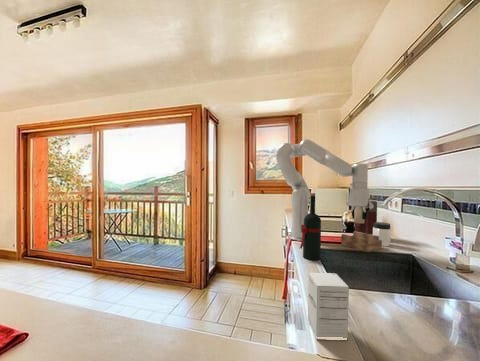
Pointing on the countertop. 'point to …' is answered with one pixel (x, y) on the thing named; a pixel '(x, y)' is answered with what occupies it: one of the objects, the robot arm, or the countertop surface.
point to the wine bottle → (311, 233)
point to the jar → (382, 232)
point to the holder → (361, 241)
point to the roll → (358, 214)
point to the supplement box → (328, 305)
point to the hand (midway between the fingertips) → (359, 218)
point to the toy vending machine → (368, 221)
